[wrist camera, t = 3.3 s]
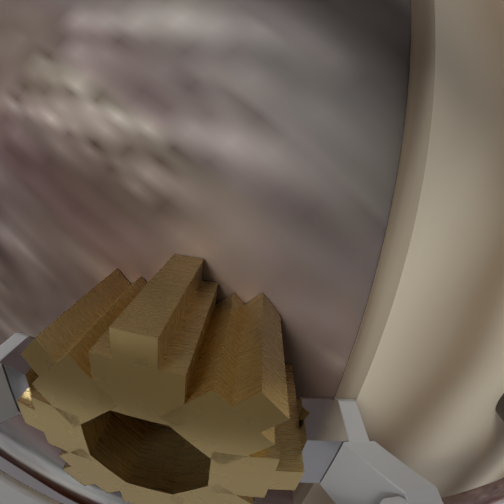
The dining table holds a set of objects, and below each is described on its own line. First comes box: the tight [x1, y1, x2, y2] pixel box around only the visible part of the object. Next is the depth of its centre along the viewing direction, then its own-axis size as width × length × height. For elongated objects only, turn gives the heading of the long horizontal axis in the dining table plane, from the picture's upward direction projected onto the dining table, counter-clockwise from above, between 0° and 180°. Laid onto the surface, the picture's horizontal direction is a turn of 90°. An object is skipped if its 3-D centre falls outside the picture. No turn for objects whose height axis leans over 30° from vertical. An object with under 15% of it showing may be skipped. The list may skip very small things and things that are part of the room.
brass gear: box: [17, 254, 304, 504], centre depth 7 cm, size 7×7×4 cm
